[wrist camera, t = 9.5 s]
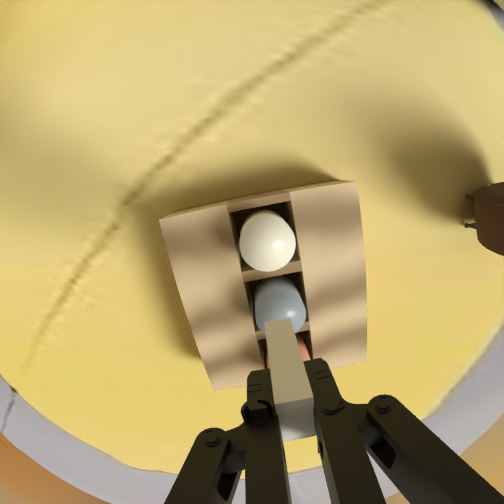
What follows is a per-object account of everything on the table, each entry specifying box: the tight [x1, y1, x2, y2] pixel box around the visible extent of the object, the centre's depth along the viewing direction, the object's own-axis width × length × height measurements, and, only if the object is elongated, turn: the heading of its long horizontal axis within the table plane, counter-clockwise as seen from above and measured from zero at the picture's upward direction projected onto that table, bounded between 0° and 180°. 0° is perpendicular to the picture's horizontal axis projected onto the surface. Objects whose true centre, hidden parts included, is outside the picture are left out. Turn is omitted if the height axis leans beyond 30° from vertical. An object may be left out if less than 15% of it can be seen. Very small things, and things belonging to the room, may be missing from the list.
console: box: [159, 180, 367, 390], centre depth 29 cm, size 20×18×5 cm
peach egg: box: [266, 333, 310, 368], centre depth 27 cm, size 4×4×4 cm
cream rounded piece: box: [240, 210, 296, 272], centre depth 24 cm, size 4×4×4 cm
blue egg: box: [254, 275, 306, 334], centre depth 26 cm, size 4×4×4 cm
